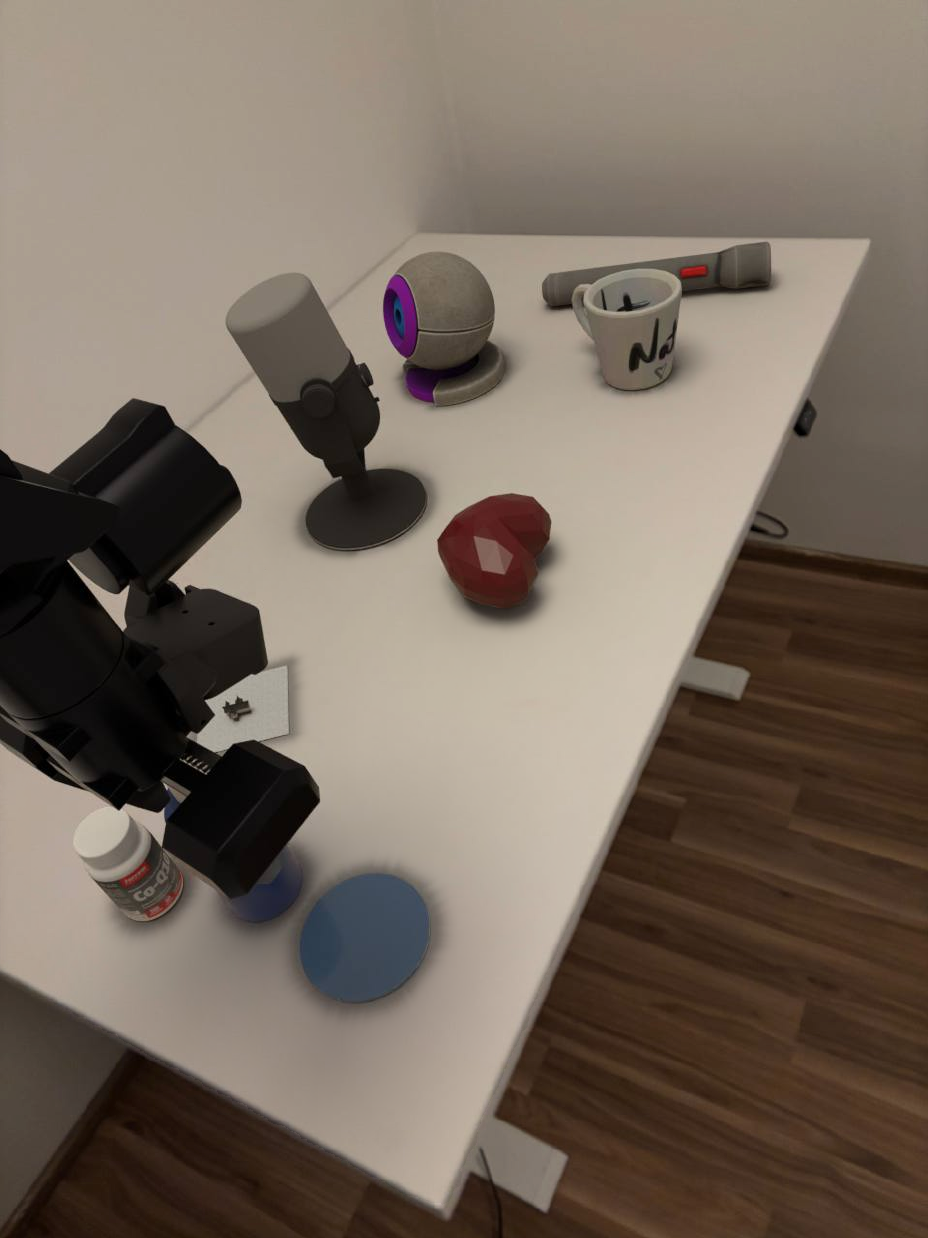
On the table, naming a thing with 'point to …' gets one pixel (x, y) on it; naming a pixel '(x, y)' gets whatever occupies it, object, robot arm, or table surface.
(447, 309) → the webcam
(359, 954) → the blue coaster
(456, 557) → the heart
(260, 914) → the blue bottle
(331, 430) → the microphone
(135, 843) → the pill bottle
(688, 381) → the table surface
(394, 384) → the table surface
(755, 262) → the flashlight
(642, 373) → the mug
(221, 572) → the table surface
